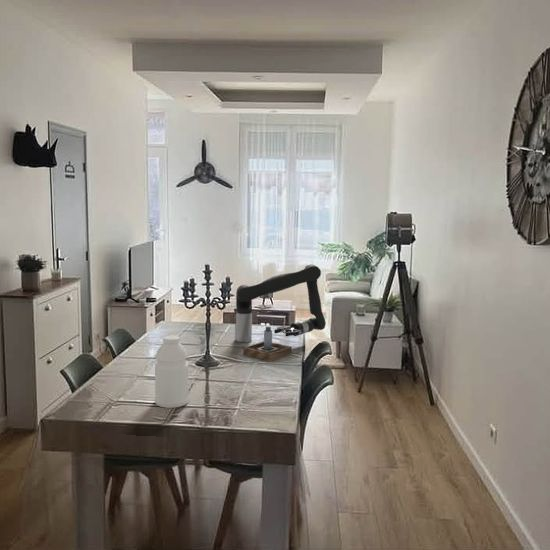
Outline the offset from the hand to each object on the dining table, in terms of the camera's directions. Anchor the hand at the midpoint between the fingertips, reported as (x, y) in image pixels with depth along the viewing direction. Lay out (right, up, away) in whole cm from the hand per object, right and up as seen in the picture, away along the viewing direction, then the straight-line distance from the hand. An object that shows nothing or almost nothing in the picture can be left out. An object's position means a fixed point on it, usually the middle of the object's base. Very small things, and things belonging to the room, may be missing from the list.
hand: (280, 333), depth 304 cm
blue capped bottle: (-7, -10, -6) cm, 13 cm away
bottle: (-46, -21, -77) cm, 92 cm away
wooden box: (-7, -11, -6) cm, 14 cm away
